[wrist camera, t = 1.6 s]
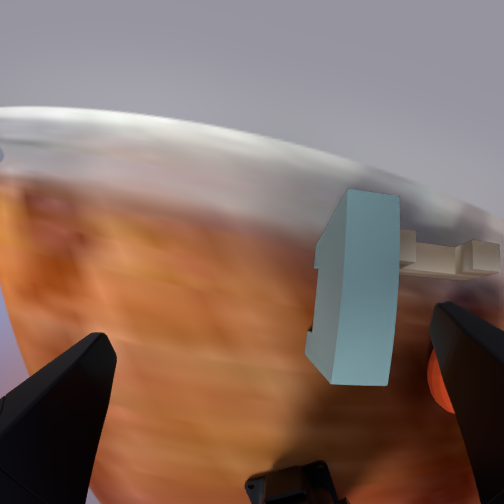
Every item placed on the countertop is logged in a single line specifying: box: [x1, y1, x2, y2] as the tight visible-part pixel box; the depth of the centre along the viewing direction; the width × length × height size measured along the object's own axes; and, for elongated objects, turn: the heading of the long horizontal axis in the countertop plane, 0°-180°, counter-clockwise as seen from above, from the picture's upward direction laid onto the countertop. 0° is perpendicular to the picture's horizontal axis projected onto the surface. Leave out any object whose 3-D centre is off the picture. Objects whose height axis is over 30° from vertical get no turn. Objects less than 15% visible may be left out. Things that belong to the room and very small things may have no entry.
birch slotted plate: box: [399, 229, 500, 281], centre depth 21 cm, size 2×10×5 cm, turn 83°
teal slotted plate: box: [305, 189, 400, 386], centre depth 18 cm, size 8×2×11 cm, turn 173°
